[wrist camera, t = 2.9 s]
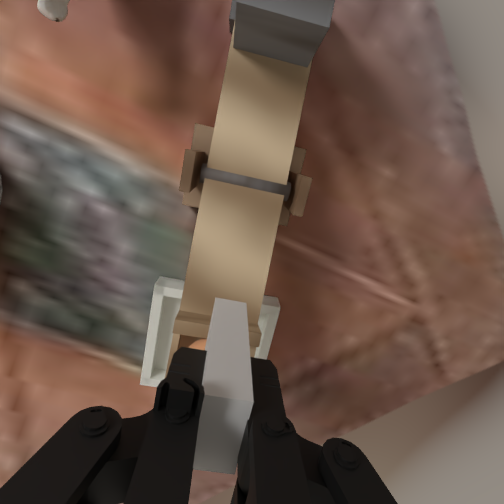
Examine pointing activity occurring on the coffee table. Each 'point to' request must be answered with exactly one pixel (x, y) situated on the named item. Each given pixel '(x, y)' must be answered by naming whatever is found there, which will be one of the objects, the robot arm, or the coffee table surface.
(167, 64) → the coffee table surface
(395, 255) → the coffee table surface
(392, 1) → the coffee table surface
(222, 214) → the lever
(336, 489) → the robot arm
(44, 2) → the bull figurine
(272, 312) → the dish
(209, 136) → the fulcrum
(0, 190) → the grey metal can
